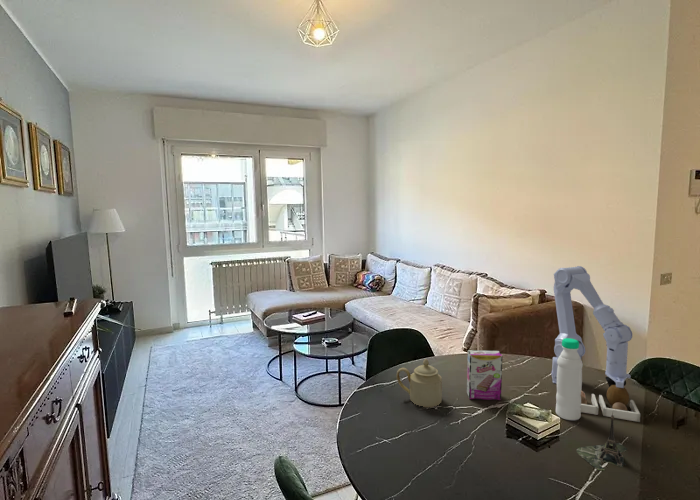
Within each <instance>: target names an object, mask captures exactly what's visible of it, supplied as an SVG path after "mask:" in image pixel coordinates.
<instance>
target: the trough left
mask: <svg viewBox="0 0 700 500" xmlns="http://www.w3.org/2000/svg"><path fill="white" fill-rule="evenodd" d="M590 399H591V401H590V402H591V404H587V405H586V404H581V406H580V408H581V413H585V414H590V415H595V416H596V415H598V416H599V404H598V400H597V399H596V395H595V394H594V393H591V398H590Z"/></svg>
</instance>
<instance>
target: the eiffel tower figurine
mask: <svg viewBox="0 0 700 500" xmlns="http://www.w3.org/2000/svg"><path fill="white" fill-rule="evenodd" d="M610 418H611V421H610V430H609V436H608V437H607V441H606V442H605V443H604V444H597V445H596V444H595V445H587V446H579V447H577V449H576V453H577V455H579V456H580V458H582V459H584V460H585V461H586V462H587V463H588V464H590V466H592V467H593V468H595V469H596V470H597V471H606V469H605V468H604V467H603V465H602V462H604V463H607V464H610V465H611V464H612V465H614V466H617V467H621V468H624V465H625V466H627V464H626V463H625V462H624V459H625V456H624V455H623V454H622V453H624V452H626V451H627V450H628V448H627V447H626V446H624V445H623V444H622V443H620V442H616V438H615V433H614V419H615V418H614V416H613V413H612V415H611V417H610Z"/></svg>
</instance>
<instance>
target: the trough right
mask: <svg viewBox="0 0 700 500" xmlns="http://www.w3.org/2000/svg"><path fill="white" fill-rule="evenodd" d="M598 403H599V404H598V405H599V406H600V409H601V413H602V415H603V417H609V418H611V415H612V413H613V416H614V418H613V419H621V420H627V421H631V422H632V421H633V422H638V423H641V413H640V411H639V409H638V407H637V405H636V402H635V400H634V399H629V407H630V408H629V409H630V411H629V410H627V411H624V410H618V409H612V407H611V408H609V407H607V406H606V402H605V401H604V397H603V395H602V394H599V395H598Z"/></svg>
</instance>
